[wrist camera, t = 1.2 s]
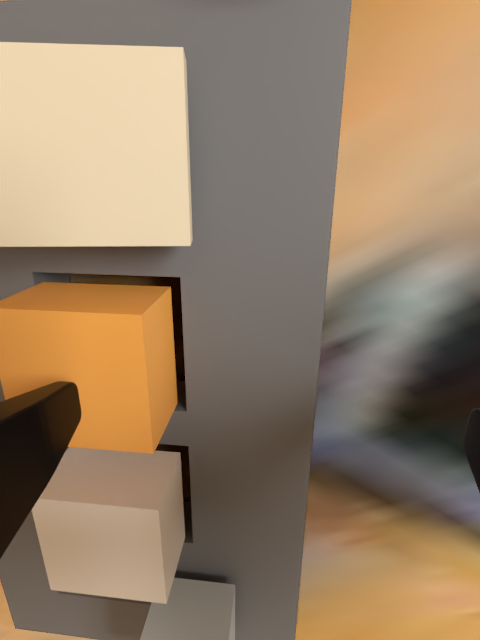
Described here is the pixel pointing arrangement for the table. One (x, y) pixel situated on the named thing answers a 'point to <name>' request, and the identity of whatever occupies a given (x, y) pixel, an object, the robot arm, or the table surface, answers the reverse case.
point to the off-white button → (113, 523)
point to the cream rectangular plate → (94, 146)
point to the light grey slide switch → (193, 612)
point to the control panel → (219, 291)
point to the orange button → (96, 357)
